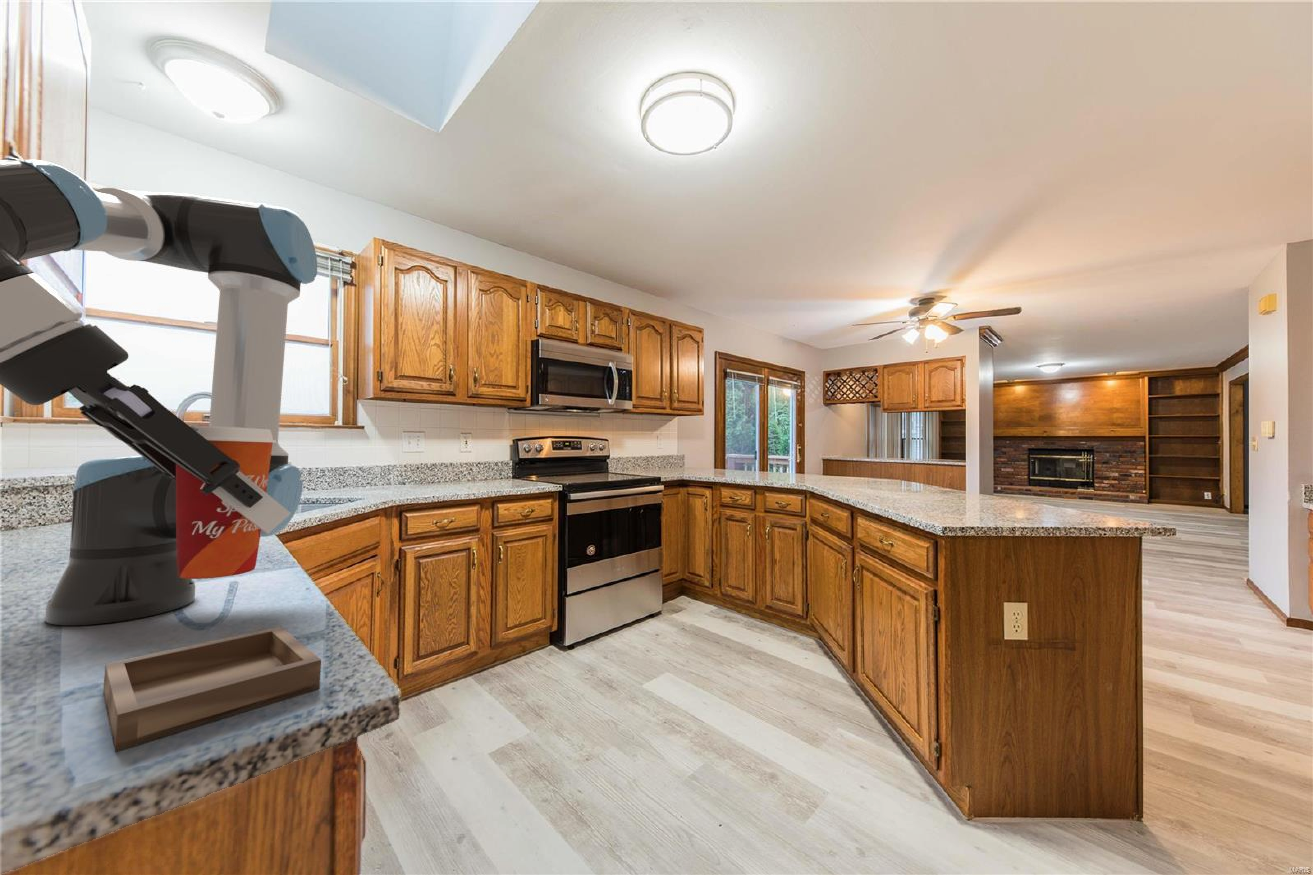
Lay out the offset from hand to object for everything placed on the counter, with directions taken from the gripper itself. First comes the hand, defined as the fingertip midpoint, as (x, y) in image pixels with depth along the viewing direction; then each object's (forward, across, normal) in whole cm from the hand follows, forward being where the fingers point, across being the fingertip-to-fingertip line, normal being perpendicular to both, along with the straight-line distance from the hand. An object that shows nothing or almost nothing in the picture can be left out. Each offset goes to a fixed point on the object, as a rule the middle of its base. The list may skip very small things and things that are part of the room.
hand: (262, 518), depth 53 cm
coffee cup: (+1, 0, -6) cm, 6 cm away
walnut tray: (+10, 0, -15) cm, 18 cm away
